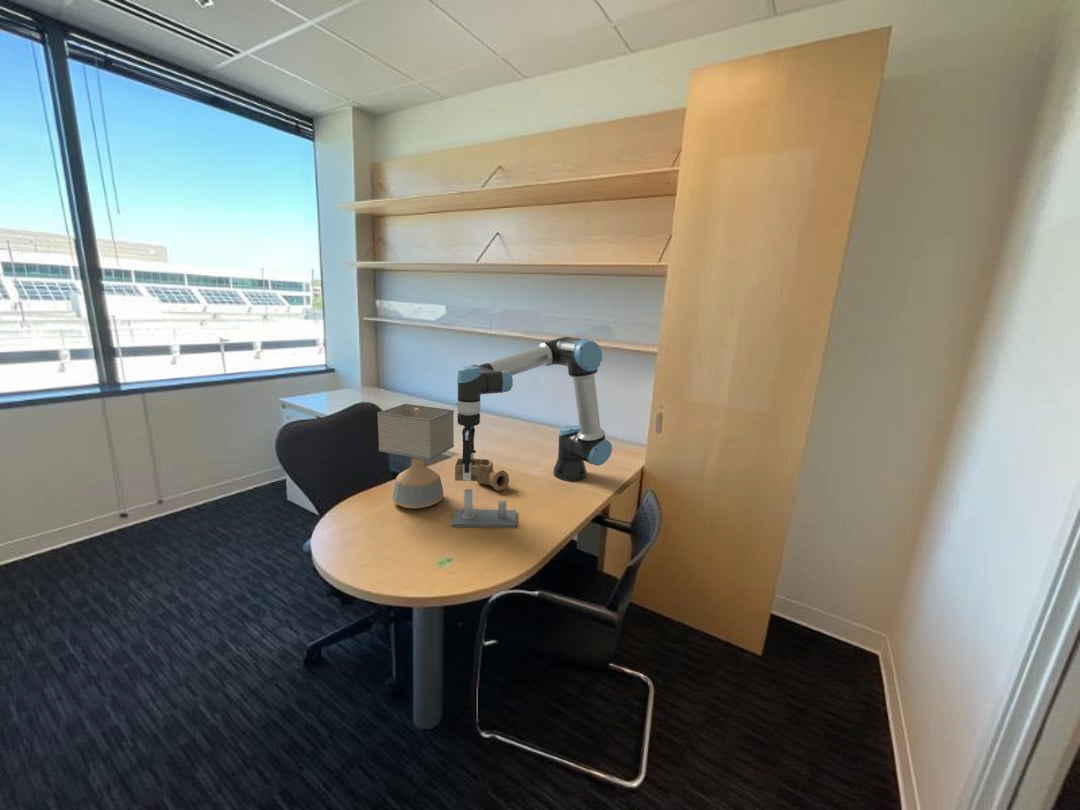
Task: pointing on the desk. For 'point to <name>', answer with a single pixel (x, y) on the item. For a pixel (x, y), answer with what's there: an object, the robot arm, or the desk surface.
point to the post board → (483, 515)
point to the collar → (474, 470)
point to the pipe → (493, 476)
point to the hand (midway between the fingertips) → (468, 475)
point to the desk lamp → (416, 449)
